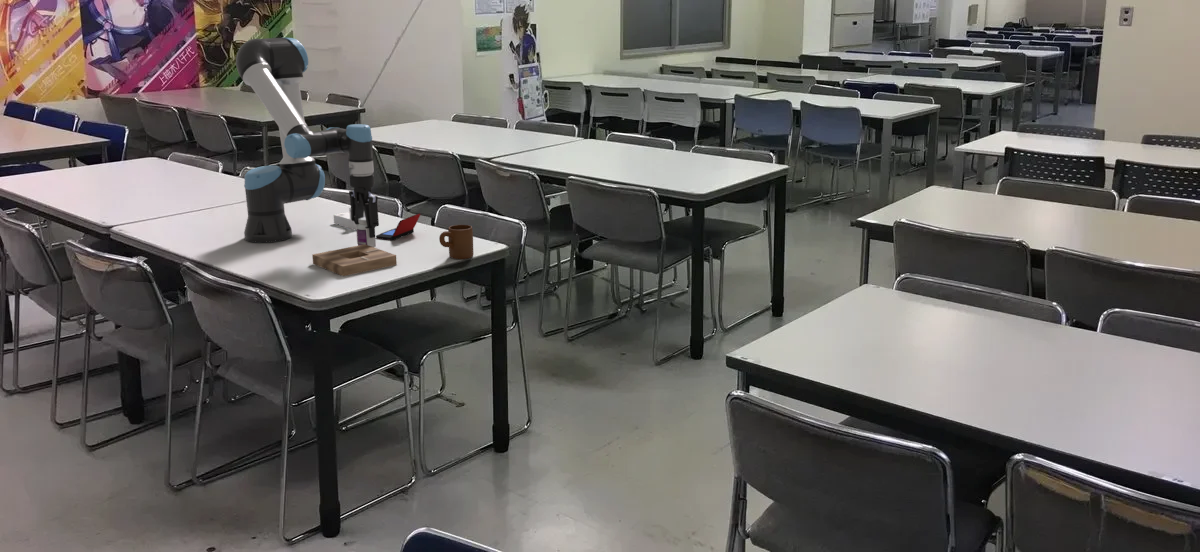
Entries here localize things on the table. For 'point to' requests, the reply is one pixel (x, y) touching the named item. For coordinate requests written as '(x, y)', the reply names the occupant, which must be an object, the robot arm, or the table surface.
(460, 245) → the mug
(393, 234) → the handheld game console
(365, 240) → the pill bottle
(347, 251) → the board
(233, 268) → the table surface
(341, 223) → the bracket
